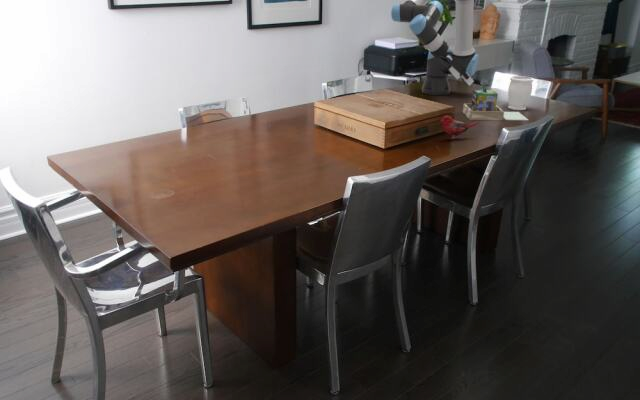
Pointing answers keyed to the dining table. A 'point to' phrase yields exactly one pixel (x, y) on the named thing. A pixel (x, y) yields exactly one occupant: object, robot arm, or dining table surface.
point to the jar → (519, 92)
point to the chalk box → (484, 100)
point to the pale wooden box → (482, 113)
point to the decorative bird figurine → (454, 126)
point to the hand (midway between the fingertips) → (465, 80)
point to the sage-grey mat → (514, 116)
